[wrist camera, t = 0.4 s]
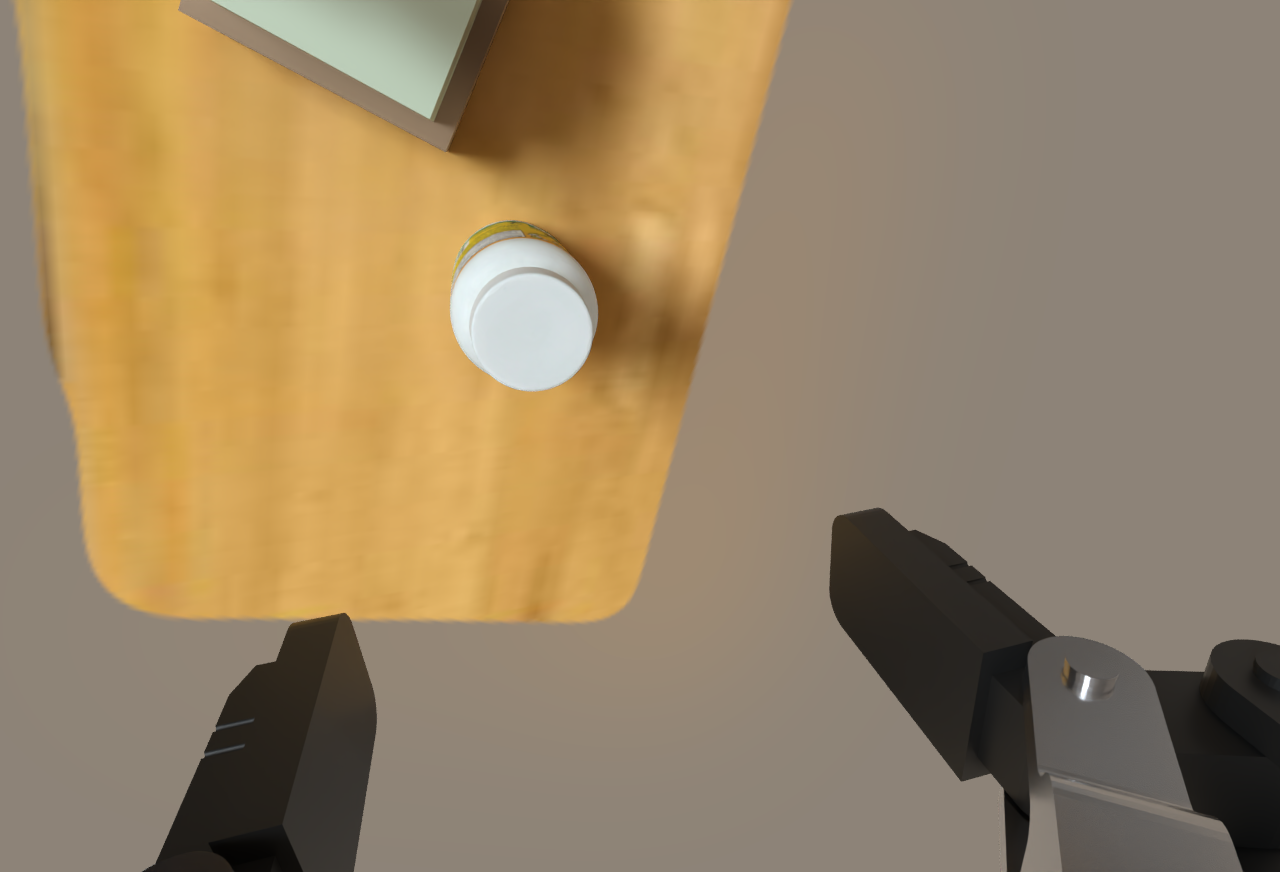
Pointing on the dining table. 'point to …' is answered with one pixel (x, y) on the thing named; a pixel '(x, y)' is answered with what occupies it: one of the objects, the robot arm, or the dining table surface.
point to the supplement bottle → (522, 306)
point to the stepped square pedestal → (372, 51)
